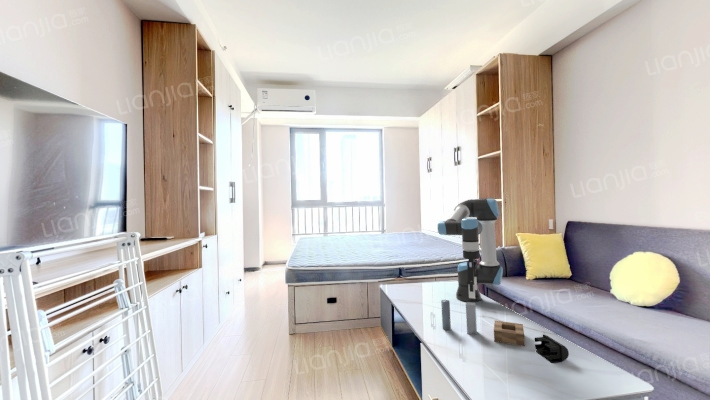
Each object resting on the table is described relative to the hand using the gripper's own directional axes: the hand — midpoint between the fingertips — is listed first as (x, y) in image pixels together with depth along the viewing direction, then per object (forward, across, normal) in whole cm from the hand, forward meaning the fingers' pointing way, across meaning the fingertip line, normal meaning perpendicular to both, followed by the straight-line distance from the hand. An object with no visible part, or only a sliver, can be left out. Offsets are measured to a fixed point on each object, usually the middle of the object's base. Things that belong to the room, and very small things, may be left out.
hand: (473, 293), depth 141 cm
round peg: (+19, 0, +13) cm, 23 cm away
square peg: (+19, 0, +1) cm, 19 cm away
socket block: (+19, 0, -15) cm, 24 cm away
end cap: (+19, -12, -29) cm, 37 cm away
